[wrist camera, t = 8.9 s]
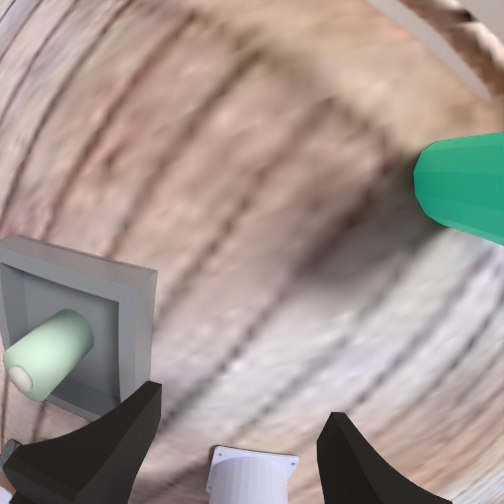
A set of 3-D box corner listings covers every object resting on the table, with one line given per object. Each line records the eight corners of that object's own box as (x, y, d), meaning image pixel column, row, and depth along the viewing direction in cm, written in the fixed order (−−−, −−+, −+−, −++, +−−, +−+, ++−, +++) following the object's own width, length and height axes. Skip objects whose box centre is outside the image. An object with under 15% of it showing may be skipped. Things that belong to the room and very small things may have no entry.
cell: (95, 359, 21) (47, 415, 14) (57, 344, 21) (6, 391, 14) (93, 316, 20) (34, 368, 13) (53, 302, 20) (-8, 344, 13)
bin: (149, 411, 23) (137, 437, 20) (31, 364, 23) (12, 381, 19) (157, 270, 20) (138, 288, 16) (18, 234, 20) (-10, 243, 16)
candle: (406, 215, 18) (539, 262, 7) (418, 129, 17) (552, 101, 5) (468, 231, 18) (590, 279, 7) (480, 155, 17) (605, 157, 5)
